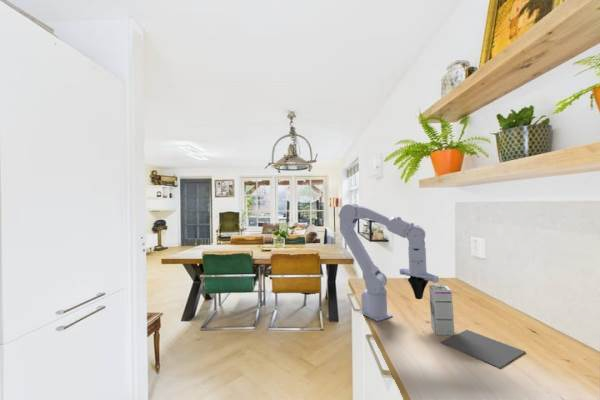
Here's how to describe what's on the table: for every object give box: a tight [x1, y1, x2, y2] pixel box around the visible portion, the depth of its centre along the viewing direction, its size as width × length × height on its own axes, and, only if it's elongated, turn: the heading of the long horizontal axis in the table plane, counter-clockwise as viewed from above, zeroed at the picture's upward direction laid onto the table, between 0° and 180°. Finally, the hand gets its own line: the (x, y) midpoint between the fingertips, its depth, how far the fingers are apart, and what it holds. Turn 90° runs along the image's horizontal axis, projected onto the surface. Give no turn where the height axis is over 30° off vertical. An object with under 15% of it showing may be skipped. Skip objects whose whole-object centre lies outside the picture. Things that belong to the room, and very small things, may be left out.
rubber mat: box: [440, 329, 527, 369], centre depth 80 cm, size 16×14×1 cm
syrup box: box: [429, 284, 455, 337], centre depth 90 cm, size 6×6×14 cm
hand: (418, 298), depth 98 cm, fingers closed
